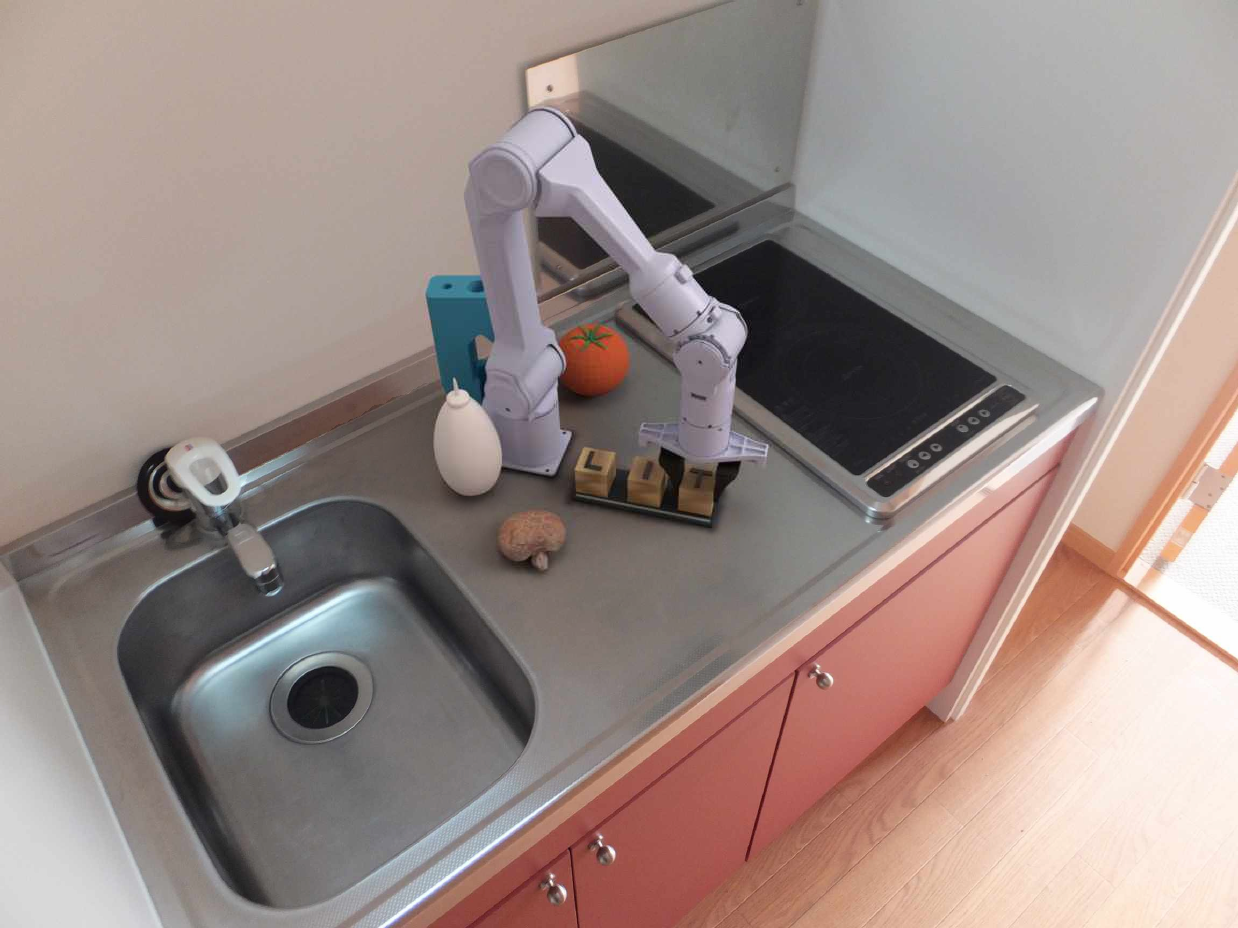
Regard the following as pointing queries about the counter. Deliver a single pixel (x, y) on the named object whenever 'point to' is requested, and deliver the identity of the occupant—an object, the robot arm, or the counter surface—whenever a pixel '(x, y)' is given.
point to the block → (459, 331)
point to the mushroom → (531, 536)
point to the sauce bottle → (466, 445)
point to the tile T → (697, 490)
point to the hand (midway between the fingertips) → (698, 493)
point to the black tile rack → (666, 510)
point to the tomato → (593, 359)
